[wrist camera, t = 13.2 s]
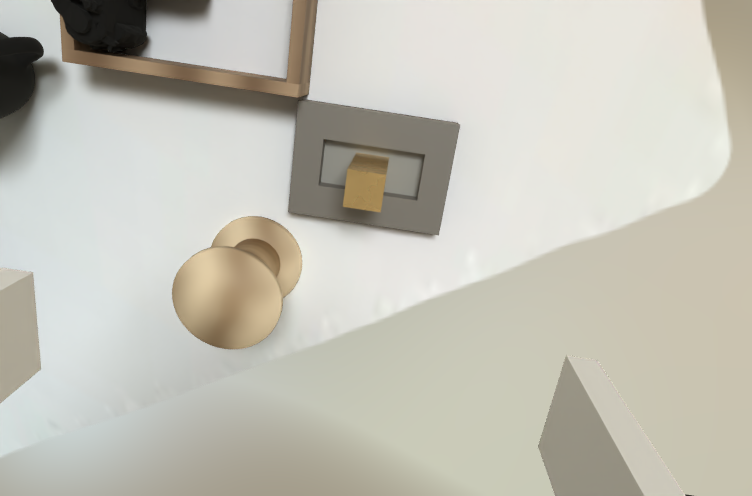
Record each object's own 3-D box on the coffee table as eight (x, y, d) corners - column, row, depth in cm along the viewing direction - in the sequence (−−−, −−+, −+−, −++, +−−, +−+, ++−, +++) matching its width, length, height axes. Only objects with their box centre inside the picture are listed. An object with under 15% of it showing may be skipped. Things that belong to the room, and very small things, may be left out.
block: (356, 152, 47) (347, 168, 40) (389, 157, 47) (386, 174, 40) (352, 184, 48) (342, 206, 41) (384, 189, 48) (380, 212, 41)
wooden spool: (210, 293, 53) (171, 340, 44) (214, 209, 50) (172, 241, 41) (297, 307, 53) (276, 356, 44) (306, 223, 50) (285, 258, 41)
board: (292, 206, 50) (288, 212, 48) (302, 99, 47) (298, 100, 45) (437, 228, 50) (438, 235, 48) (457, 122, 47) (460, 125, 45)
